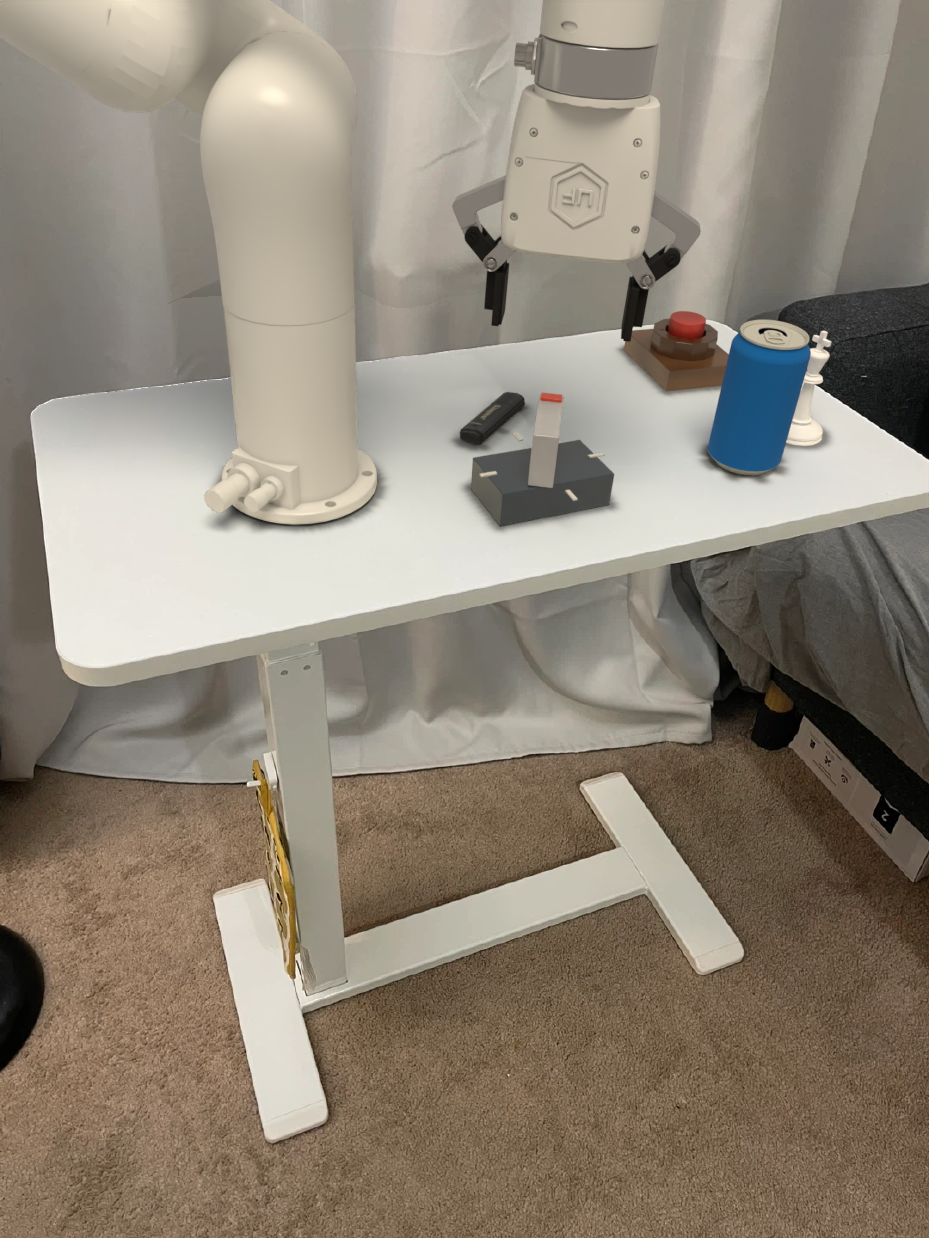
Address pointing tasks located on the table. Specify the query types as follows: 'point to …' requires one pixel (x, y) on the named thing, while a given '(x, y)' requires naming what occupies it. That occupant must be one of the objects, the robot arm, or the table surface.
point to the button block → (678, 357)
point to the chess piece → (809, 397)
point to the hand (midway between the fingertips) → (561, 326)
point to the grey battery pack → (545, 440)
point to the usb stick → (492, 418)
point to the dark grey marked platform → (515, 501)
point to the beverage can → (759, 396)
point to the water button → (686, 325)
